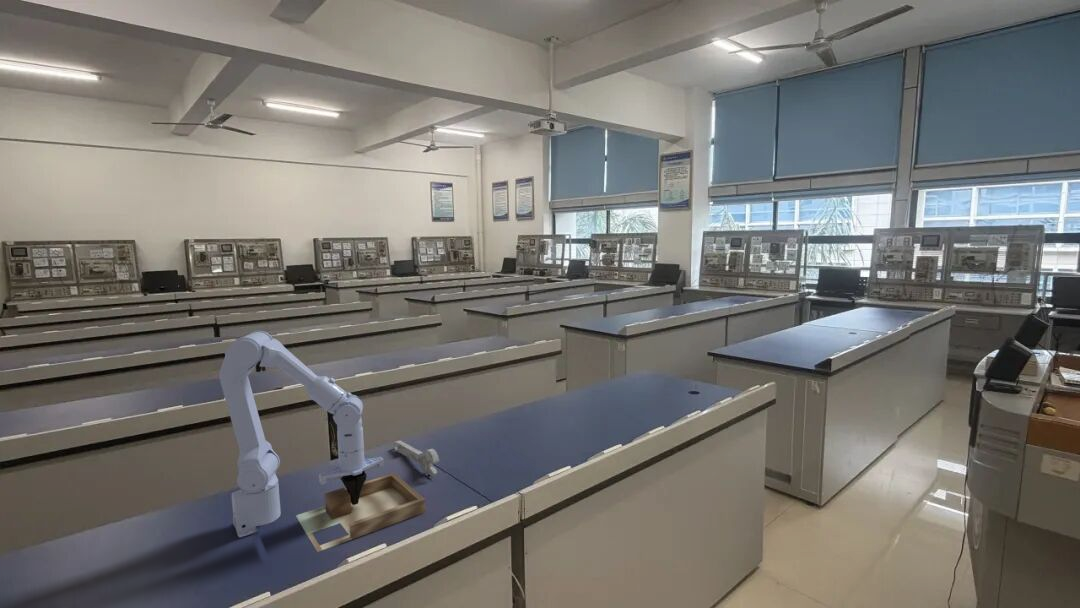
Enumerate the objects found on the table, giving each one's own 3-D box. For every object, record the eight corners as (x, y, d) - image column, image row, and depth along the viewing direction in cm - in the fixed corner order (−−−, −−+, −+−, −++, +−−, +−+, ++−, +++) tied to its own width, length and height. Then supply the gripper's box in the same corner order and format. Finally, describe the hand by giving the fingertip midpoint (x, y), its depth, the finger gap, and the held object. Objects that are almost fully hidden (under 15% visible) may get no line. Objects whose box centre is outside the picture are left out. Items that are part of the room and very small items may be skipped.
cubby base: (317, 557, 102) (316, 538, 101) (295, 520, 116) (294, 503, 115) (425, 516, 117) (425, 499, 116) (395, 488, 131) (394, 472, 130)
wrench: (400, 456, 157) (441, 481, 133) (394, 458, 156) (435, 483, 132) (397, 431, 157) (438, 451, 133) (392, 433, 156) (432, 453, 132)
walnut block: (331, 519, 113) (330, 501, 113) (325, 511, 117) (324, 493, 116) (351, 512, 116) (350, 494, 116) (345, 505, 120) (343, 487, 119)
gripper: (323, 462, 110) (327, 520, 111) (387, 445, 119) (390, 499, 120) (314, 452, 115) (318, 508, 117) (376, 436, 124) (379, 488, 126)
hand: (354, 502), depth 119 cm, fingers closed
